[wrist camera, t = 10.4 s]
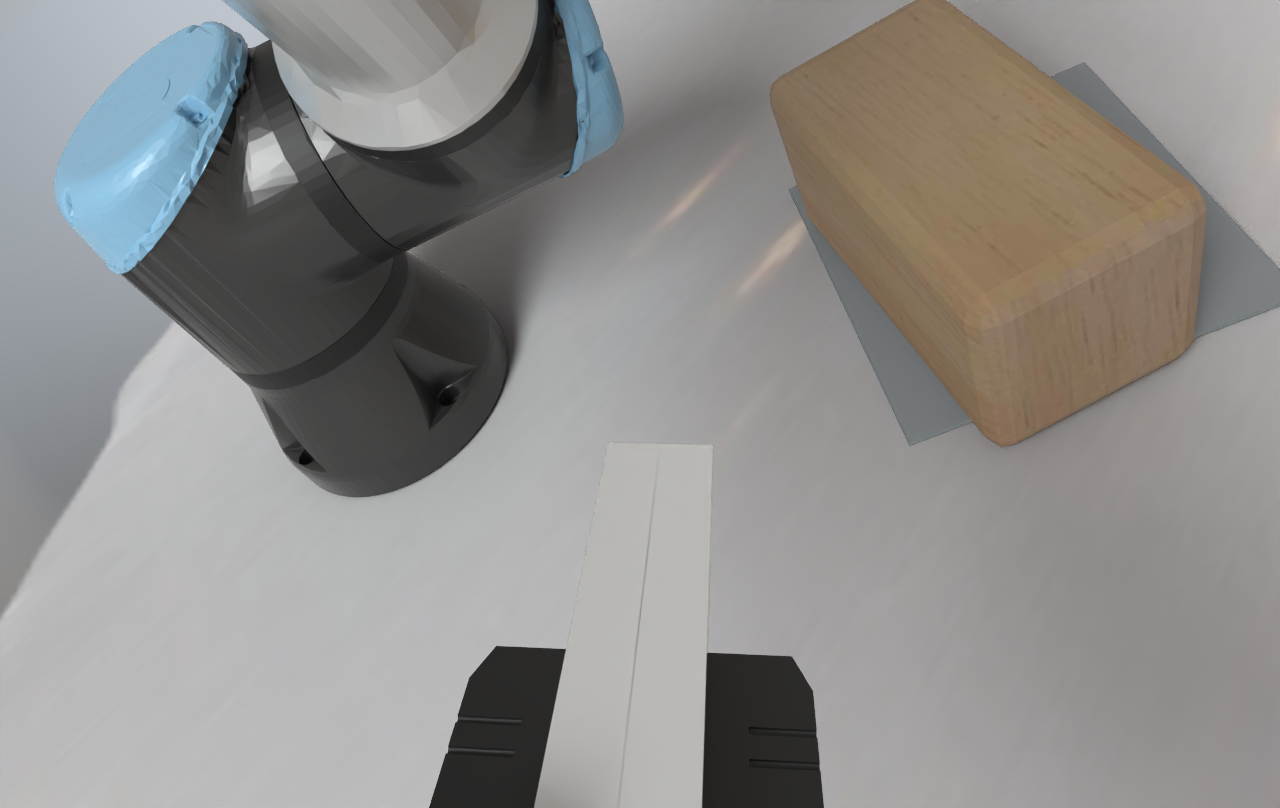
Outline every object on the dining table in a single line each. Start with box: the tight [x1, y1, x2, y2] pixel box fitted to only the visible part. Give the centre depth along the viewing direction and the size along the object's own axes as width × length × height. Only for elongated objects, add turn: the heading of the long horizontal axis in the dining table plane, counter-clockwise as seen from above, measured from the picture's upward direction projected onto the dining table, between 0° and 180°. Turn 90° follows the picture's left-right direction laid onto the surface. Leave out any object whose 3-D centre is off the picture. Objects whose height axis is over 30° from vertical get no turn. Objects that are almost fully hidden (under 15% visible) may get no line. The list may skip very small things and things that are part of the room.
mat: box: [789, 63, 1280, 445], centre depth 51 cm, size 20×18×1 cm
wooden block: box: [770, 0, 1207, 447], centre depth 46 cm, size 10×10×20 cm
